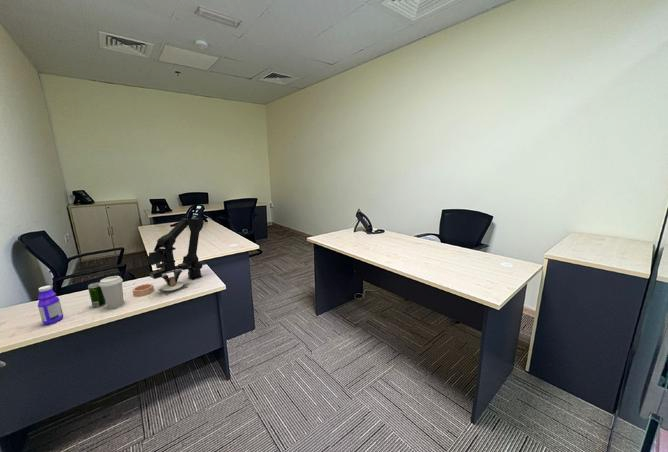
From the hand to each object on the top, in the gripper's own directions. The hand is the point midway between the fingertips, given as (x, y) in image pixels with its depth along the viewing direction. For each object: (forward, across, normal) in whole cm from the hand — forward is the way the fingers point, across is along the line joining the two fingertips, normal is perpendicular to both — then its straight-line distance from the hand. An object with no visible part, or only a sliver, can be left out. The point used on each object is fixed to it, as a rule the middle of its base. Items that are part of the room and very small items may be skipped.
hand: (172, 284), depth 154 cm
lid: (+2, 0, 0) cm, 2 cm away
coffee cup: (+4, +26, -5) cm, 27 cm away
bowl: (+3, +12, -9) cm, 15 cm away
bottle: (+4, +48, -12) cm, 50 cm away
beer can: (+4, +31, -13) cm, 34 cm away
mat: (+3, 0, 0) cm, 3 cm away
